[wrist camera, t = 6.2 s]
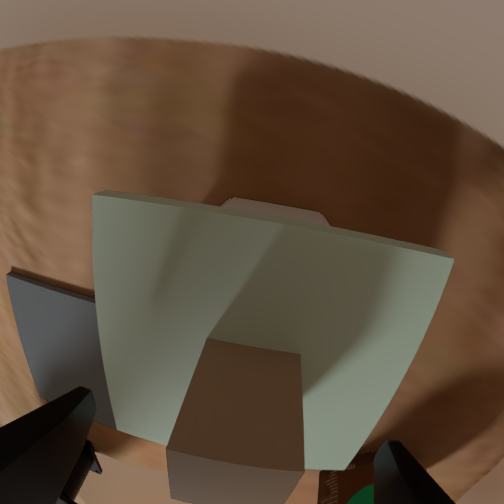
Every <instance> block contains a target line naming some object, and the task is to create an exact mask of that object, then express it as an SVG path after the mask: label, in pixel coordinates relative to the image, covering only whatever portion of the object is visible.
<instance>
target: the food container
mask: <svg viewBox="0 0 504 504" xmlns="http://www.w3.org/2000/svg"><path fill="white" fill-rule="evenodd" d="M376 453H377V452H373V453H367V454H363V455H359V456H355V457H354V458H353V459H352V460H351V462H350V463H349V465H348V466H347V467H346V469H345V470H322V471H320V474H319V489H318V502H317V504H374V502H373V490H374V458H375V455H376Z"/></svg>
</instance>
